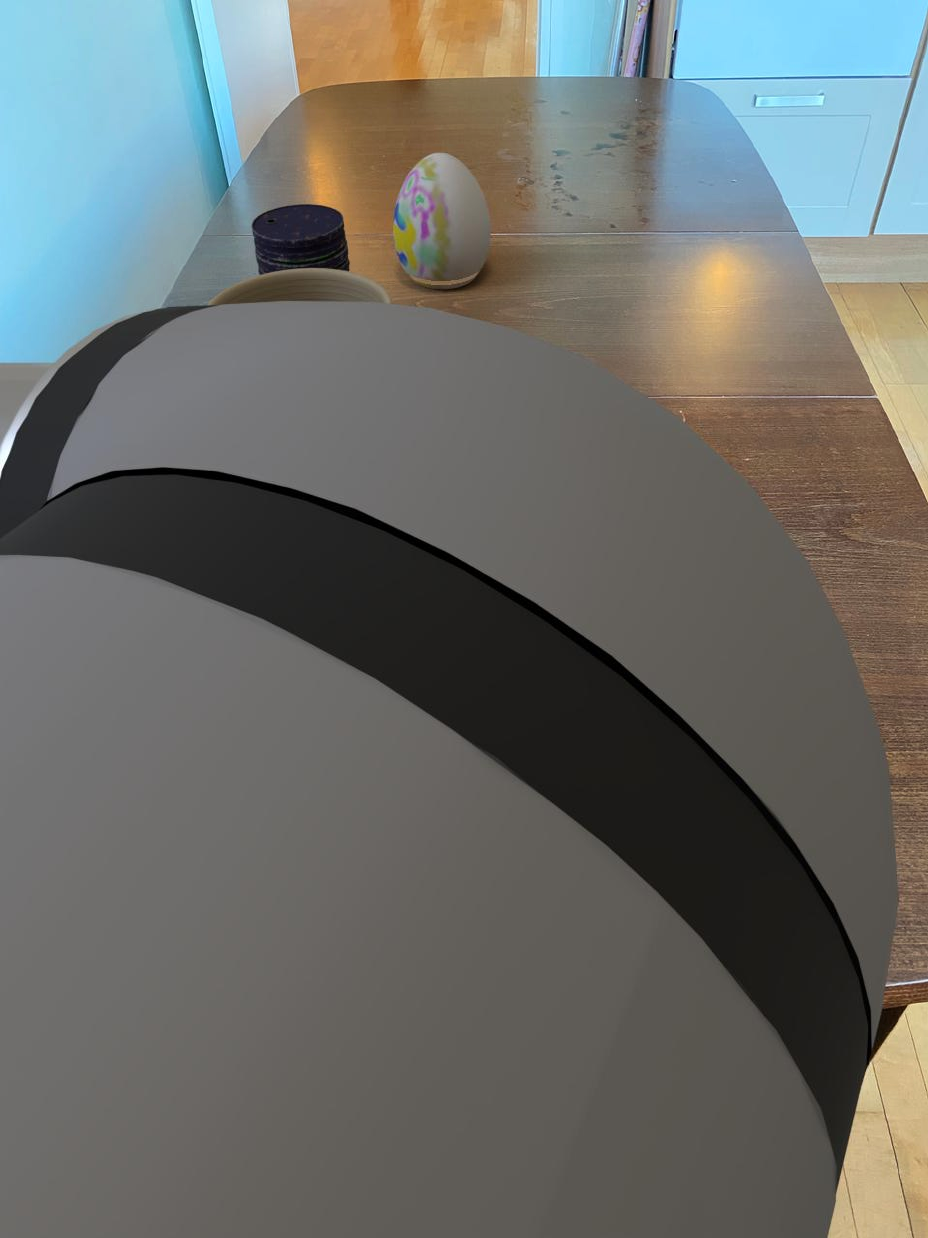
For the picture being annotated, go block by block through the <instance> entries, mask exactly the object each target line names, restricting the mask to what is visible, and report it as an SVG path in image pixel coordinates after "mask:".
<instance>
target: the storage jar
mask: <svg viewBox="0 0 928 1238" xmlns="http://www.w3.org/2000/svg"><path fill="white" fill-rule="evenodd" d="M251 233H252V236H253V243H254V254H255V259H256V260H255V261H256V263H257V265H258V266H257V267H258V268H257V270H258V271H257V272H258V274H259V275H263V274H267V273H271V272H276V271H282V270H290V269H301V268H326V269H336V270H343V271H348V272H350V264H351V261H350V259H349V245H348V240H347V237H346V231H345V221H344V215H343V213H341V212H340V211H339V210H337V209H336V208H334V207H330V206H327V205H322V204H313V203H301V204H300V203H299V204H291V205H284V206H280V207H276V208H272V209H269V210H266V211H264V212H262V213H260V214H259V215H257V216H256V217H255V218H254V219H253V220H252V222H251Z"/></svg>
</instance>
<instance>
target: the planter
mask: <svg viewBox="0 0 928 1238" xmlns="http://www.w3.org/2000/svg"><path fill="white" fill-rule="evenodd" d="M277 301H331V302H379V303H389V304H393V299H392V297H391V294H390V293H389V291H388V290H387V289H386V288H385V287H384V286H383V285H381V284H380V283H379V282H378V281H376V280H374V279H372V278H369V277H367V276H365V275H362V274H359V273H356V272H352V271H349V272H348V271H343V270H336V269H326V268H301V269H290V270H282V271H276V272H271V273H267V274H263V275H260V274H259V275H255V276H252V277H248V278H246V279H243V280H241V281H239V282H236V283H235V284H232V285H230V286H229V287H227V288H225V289H224V290H222V291H221V292H219V293H218V294H217V295H215V296H214V297H213V298H212V299H211V300H209V302H208V303H207V305H224V304H241V303H259V302H277Z"/></svg>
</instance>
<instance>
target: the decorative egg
mask: <svg viewBox="0 0 928 1238" xmlns="http://www.w3.org/2000/svg"><path fill="white" fill-rule="evenodd" d="M392 222H393V223H392V231H393V232H392V233H393V242H394V247H395V251H396V255H397V257H398V260H399V262H400V263H401V266H402V269H404V271H405V273H406V274H407V273H409V274H411V275H412V276H414V277H417V278H421V279H424V280H425V279H426V280H431V281H451V280H459V279H463V278H466V277H469V276H471V275H473V274H475V273H477V272H478V271H479V270H480V269H481V268H482V269H483V267H484V264H485V262H486V260H487V257H488V254H489V251H490V246H491V234H492V233H491V232H492V231H491V230H492V229H491V226H492V225H491V217H490V212H489V207H488V203H487V201H486V197H485V195H484V192H483V189H482V188H481V186H480V184H479V182H478V180H477V179H476V177H475V176H474V175H473V173H472V171H470V169H469V168H468V167H467V166H466V165H465V164H464V163H463V162H462V161H461V160H459V158H457V157H455V156H453V155H451V154H448V153H445V152H434V153H430V154H429V155H426V156H425V157H423V158H422V159H420V160H419V161H418V162H417V163H416V164H415V165H414V167H413V168H412V169H411V170H410V171H409V173H408V174H407V176H406V177H405V180H404V181H403V183H402V185H401V188H400V190H399V192H398V195H397V198H396V202H395V206H394V211H393V221H392ZM482 269H481V270H482ZM481 270H480V271H481ZM478 275H479V273H478V274H477V275H476V276H475V277H474V278H472V279H470V280H468V281H465V282H462V283H457V284H452V285H431V284H425V283H421V282H418V281H416V280H414V279H412V278H411V277H410V279H411V280H412V281H413V282H414V283H416V284H417V285H419V286H421V287H423V288H427V289H431V290H451V289H458V288H461V287H463V286H466V285H468V284H470V283H471V282H472V281H474V280H475V279H476V277H477V276H478Z"/></svg>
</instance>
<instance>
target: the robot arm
mask: <svg viewBox="0 0 928 1238" xmlns="http://www.w3.org/2000/svg"><path fill="white" fill-rule="evenodd" d="M891 785H892V784H891V774H890V765H889V760H888V757H887V753H886V749H885V746H884V742H883V738H882V734H881V730H880V726H879V723H878V720H877V718H876V715H875V713H874V710H873V707H872V704H871V701H870V700H869V696H868V694H867V691H866V688H865V685H864V682H863V679H862V676H861V674H860V671H859V669H858V666H857V663H856V660H855V658H854V655H853V652H852V649H851V646H850V643H849V641H848V638H847V636H846V633H845V630H844V627H843V625H842V623H841V622H840V620H839V618H838V616H837V614H836V612H835V610H834V608H833V607H832V605H831V603H830V601H829V599H828V597H827V595H826V593H825V591H824V589H823V588H822V586H821V584H820V582H819V580H818V578H817V576H816V575H815V572H814V571H813V568H812V567H811V565H810V564H809V561H808V559H807V557H806V555H805V554H804V553H803V551H802V550H801V549H800V548H799V546H798V545H797V543H796V542H795V541H794V540H793V538H792V537H791V536H790V534H789V533H788V531H787V530H786V529H785V528H784V527H783V525H782V524H781V523H780V521H779V520H778V518H777V517H776V516H775V515H774V513H773V511H771V509H770V508H769V507H768V505H767V504H766V503H765V502H764V500H763V499H762V498H761V496H760V495H759V493H757V491H756V490H755V489H754V487H753V486H752V484H751V483H750V482H749V481H748V480H746V478H745V477H743V475H741V474H740V473H739V471H737V470H736V469H735V468H734V467H733V466H732V465H730V464H729V462H728V461H726V460H725V459H724V458H723V457H722V456H721V455H720V454H719V453H718V452H717V451H715V449H714V448H712V447H711V445H710V444H708V443H707V442H706V441H705V440H704V439H703V438H702V437H700V435H698V433H696V431H694V430H693V429H692V428H691V427H690V425H688V424H687V423H686V422H685V421H684V420H683V419H681V418H680V417H679V416H678V415H677V414H675V413H674V412H673V411H671V410H669V409H668V408H666V407H665V406H663V405H662V404H660V403H659V402H657V401H655V400H654V399H652V398H650V397H649V396H647V395H646V394H644V393H643V392H641V391H639V390H638V389H636V388H635V387H633V386H631V385H630V384H628V383H626V382H625V381H623V380H622V379H620V378H619V377H618V376H616V375H614V374H612V373H610V372H609V371H608V370H606V369H604V368H603V367H601V366H600V365H598V364H596V363H595V362H593V361H592V360H590V359H588V357H585V356H584V355H582V354H579V353H576V352H574V351H571V350H569V349H567V348H565V347H562V346H559V345H557V344H554V343H551V342H549V341H546V340H544V339H542V338H540V337H536V336H535V335H531V334H529V333H527V332H523V331H521V330H519V329H516V328H513V327H509V326H505V325H502V324H498V323H495V322H490V321H486V320H481V319H477V318H474V317H469V316H465V315H462V314H461V315H460V314H457V313H452V312H448V311H444V310H440V309H436V308H432V307H426V306H425V307H424V306H415V305H407V304H398V303H397V304H396V303H392V304H389V303H379V302H331V301H277V302H259V303H241V304H224V305H208V304H204V305H202V304H201V305H181V306H180V305H179V306H177V305H176V306H167V307H162V308H151V309H147V310H144V311H140V312H135V313H131V314H128V315H124V316H122V317H120V318H118V319H116V320H113V321H111V322H109V323H108V324H105V325H103V326H102V327H99V328H97V329H95V330H93V331H92V332H90V333H88V335H86V336H85V337H83V338H82V339H81V340H80V341H78V342H77V343H75V344H74V345H72V346H71V347H69V348H68V349H67V350H66V351H64V353H62V355H61V356H60V357H59V358H57V360H55V362H0V1238H829V1234H830V1229H831V1225H832V1220H833V1216H834V1213H835V1208H836V1203H837V1192H838V1189H839V1185H840V1179H841V1176H842V1173H843V1172H842V1171H843V1168H844V1167H843V1166H844V1162H845V1160H846V1159H845V1158H846V1155H847V1150H848V1147H849V1146H848V1145H849V1141H850V1138H851V1133H852V1128H853V1124H854V1120H855V1116H856V1112H857V1108H858V1104H859V1103H858V1102H859V1099H860V1094H861V1090H862V1087H863V1084H864V1079H865V1076H866V1072H867V1069H868V1065H869V1063H870V1058H871V1056H872V1052H873V1048H874V1044H875V1040H876V1035H877V1031H878V1028H879V1023H880V1019H881V1015H882V1011H883V1004H884V999H885V991H886V987H887V980H888V973H889V967H890V961H891V955H892V948H893V941H894V935H895V929H896V922H897V917H898V910H899V906H900V905H899V904H900V893H899V891H900V890H899V877H898V864H897V853H896V851H897V850H896V839H895V838H896V837H895V827H894V813H893V800H892V786H891Z"/></svg>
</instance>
